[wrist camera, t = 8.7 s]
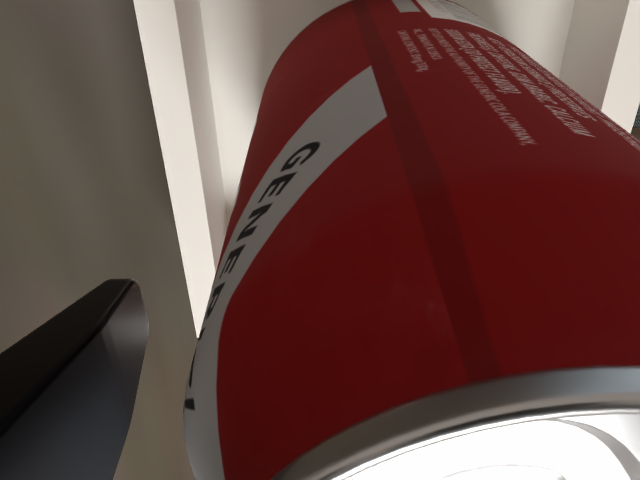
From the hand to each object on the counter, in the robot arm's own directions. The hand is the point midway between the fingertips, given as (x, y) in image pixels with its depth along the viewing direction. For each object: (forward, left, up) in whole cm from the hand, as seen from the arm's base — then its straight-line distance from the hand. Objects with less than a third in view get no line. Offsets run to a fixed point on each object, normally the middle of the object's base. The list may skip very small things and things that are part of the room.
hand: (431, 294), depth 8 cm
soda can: (0, 0, -8) cm, 8 cm away
